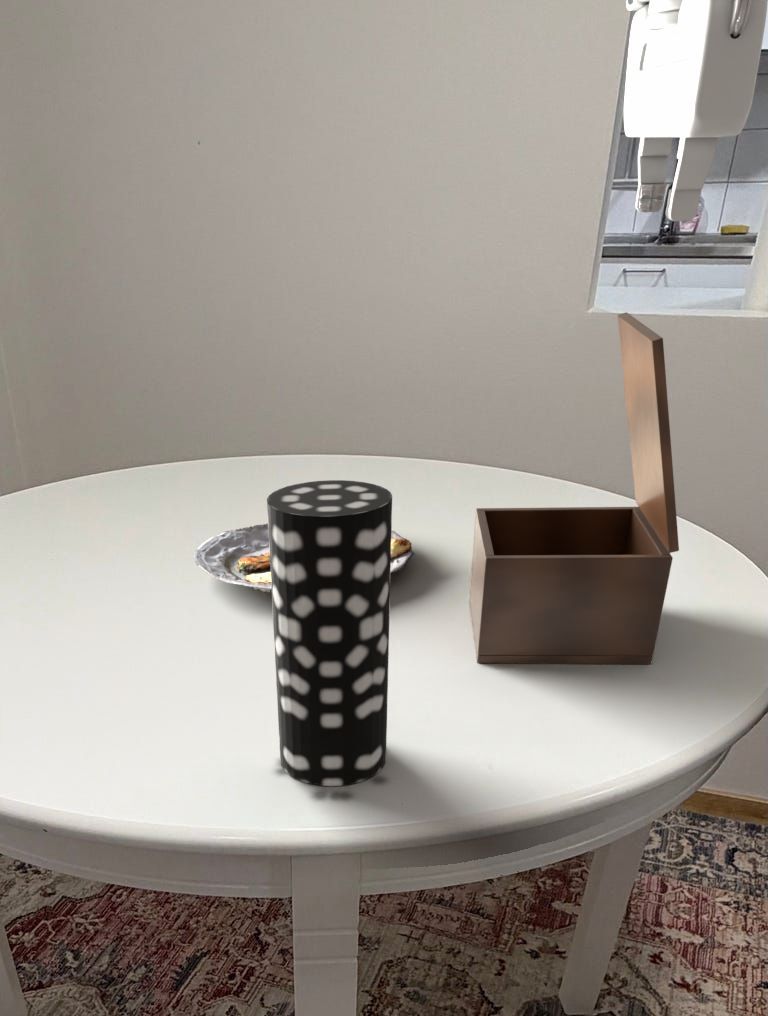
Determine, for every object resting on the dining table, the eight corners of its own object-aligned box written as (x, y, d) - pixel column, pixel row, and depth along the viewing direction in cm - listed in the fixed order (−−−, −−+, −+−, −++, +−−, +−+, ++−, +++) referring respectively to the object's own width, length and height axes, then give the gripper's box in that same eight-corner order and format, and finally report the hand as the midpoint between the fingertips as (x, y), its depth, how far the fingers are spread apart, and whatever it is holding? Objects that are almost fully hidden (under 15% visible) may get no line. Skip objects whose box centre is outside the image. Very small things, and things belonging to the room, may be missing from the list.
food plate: (349, 524, 123) (349, 496, 121) (452, 578, 106) (454, 546, 104) (167, 560, 114) (164, 530, 112) (248, 624, 97) (245, 591, 95)
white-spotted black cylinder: (277, 787, 72) (262, 518, 60) (283, 733, 78) (270, 481, 67) (388, 786, 71) (394, 514, 59) (384, 732, 78) (389, 478, 66)
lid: (651, 341, 71) (663, 337, 71) (617, 315, 83) (626, 312, 83) (669, 553, 80) (679, 550, 80) (635, 502, 92) (644, 500, 92)
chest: (476, 663, 88) (485, 558, 82) (468, 603, 100) (476, 508, 94) (651, 664, 86) (673, 557, 80) (622, 603, 98) (639, 506, 92)
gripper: (817, -72, 53) (752, 225, 61) (712, -23, 69) (672, 206, 78) (700, -66, 53) (652, 228, 62) (623, -19, 70) (593, 209, 78)
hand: (663, 216), depth 70 cm, fingers open, 8 cm apart
